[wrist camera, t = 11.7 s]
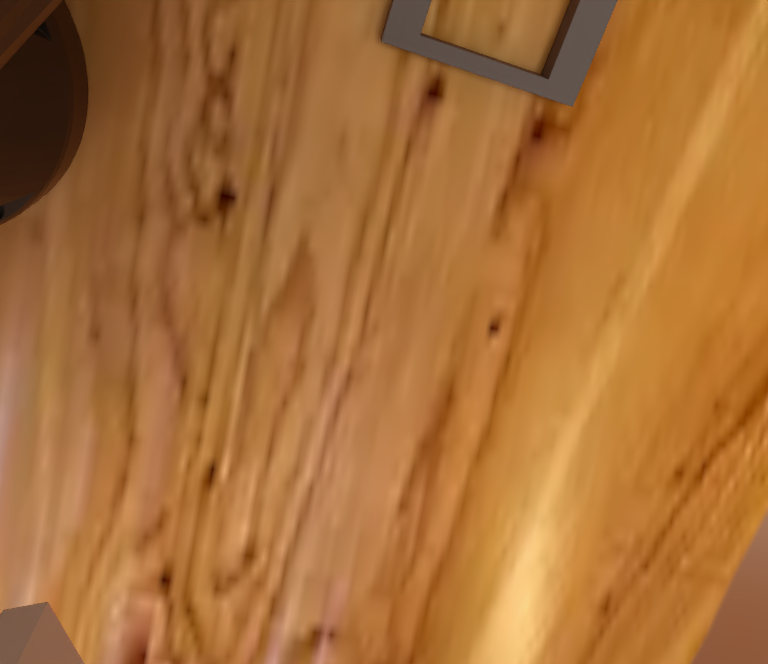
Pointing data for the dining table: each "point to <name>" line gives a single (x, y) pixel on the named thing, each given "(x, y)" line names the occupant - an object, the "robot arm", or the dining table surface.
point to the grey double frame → (555, 82)
